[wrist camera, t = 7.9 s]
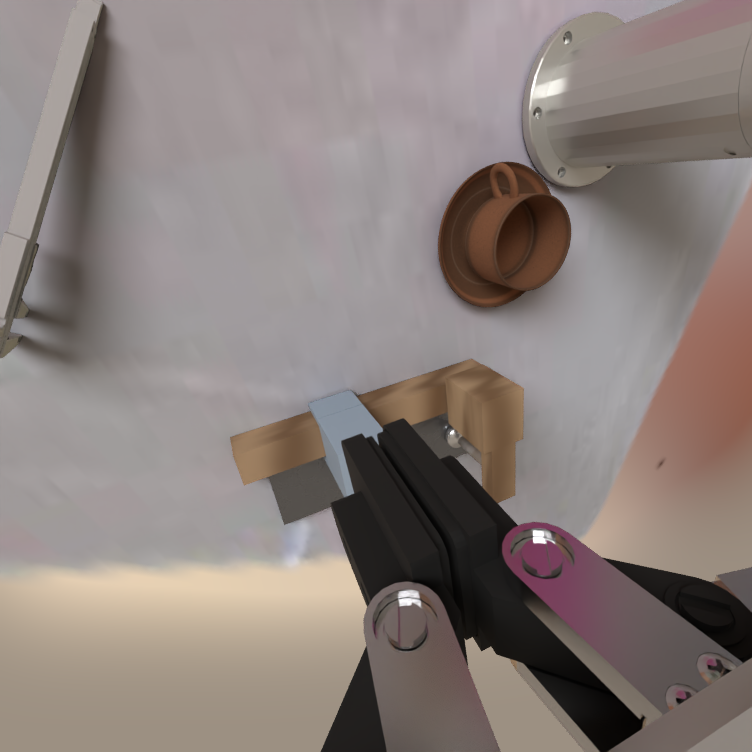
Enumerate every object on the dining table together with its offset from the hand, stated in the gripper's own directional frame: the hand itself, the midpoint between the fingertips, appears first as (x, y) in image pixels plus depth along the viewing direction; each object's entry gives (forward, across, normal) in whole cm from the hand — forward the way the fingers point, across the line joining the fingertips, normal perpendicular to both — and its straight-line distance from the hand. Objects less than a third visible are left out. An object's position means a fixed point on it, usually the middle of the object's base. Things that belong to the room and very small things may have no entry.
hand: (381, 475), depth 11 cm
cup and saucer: (+26, -20, +1) cm, 33 cm away
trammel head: (+25, -3, +17) cm, 30 cm away
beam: (+25, -5, +17) cm, 31 cm away
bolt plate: (+25, -7, +20) cm, 33 cm away
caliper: (+26, +10, -9) cm, 29 cm away
